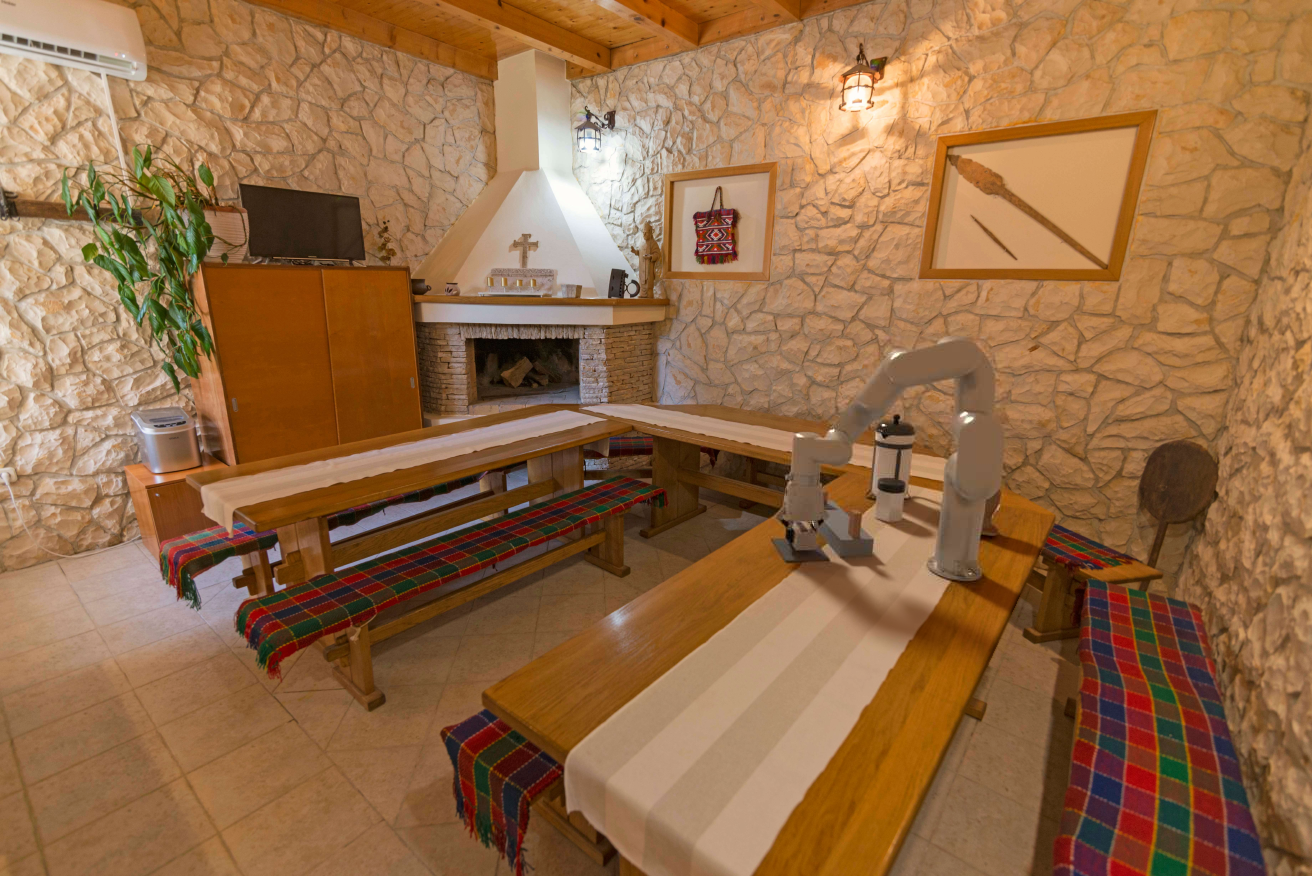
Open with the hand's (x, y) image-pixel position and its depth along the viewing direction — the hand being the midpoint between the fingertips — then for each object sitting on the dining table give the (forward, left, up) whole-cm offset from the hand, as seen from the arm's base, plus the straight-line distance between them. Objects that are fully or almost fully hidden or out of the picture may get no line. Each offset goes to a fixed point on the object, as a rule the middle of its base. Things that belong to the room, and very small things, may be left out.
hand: (800, 540), depth 155 cm
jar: (+22, -36, -3) cm, 42 cm away
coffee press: (+40, -45, -3) cm, 60 cm away
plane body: (+10, -14, -3) cm, 17 cm away
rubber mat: (0, 0, -3) cm, 3 cm away
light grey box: (0, 0, 0) cm, 0 cm away
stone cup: (+11, -56, -3) cm, 57 cm away
